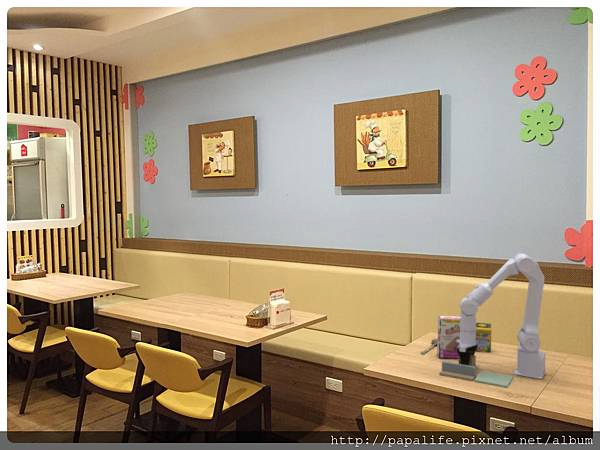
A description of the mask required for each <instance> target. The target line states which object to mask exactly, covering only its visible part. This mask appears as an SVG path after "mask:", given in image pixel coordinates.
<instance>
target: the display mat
mask: <svg viewBox="0 0 600 450" xmlns="http://www.w3.org/2000/svg"><path fill="white" fill-rule="evenodd" d="M513 379H514V375H510V374H509V375H508V374H502V373H496V372H491V371H486V370H482V371H480V372H479V374H478V375H476V378H475V379H474V380H473V381H474V383H481V384H487V385H492V386H495V387H501V388H508V387H509V386H510V384H511V382H512V381H513Z"/></svg>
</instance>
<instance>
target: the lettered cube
mask: <svg viewBox="0 0 600 450" xmlns="http://www.w3.org/2000/svg"><path fill="white" fill-rule="evenodd" d="M476 359H477V357H476V355H475V354H474V355H471V357H470V362H469V366H475V367H476V368H477V366H476V364H477V363H476V362H477V361H476ZM458 364H461V360H460V357H459V359H458Z"/></svg>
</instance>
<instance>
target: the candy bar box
mask: <svg viewBox="0 0 600 450" xmlns="http://www.w3.org/2000/svg"><path fill="white" fill-rule="evenodd" d="M460 317H461V316H457V315H456V316H452V315H438V318H437V319H438V320H437V321H438V322H437V339H438V344H436V345H437V349H436V355H437V356H438V359H447V360H448V359H452V360H459V354H458V352H457V348H460V344H459V343H457V342H456V341H457V340H460Z"/></svg>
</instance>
